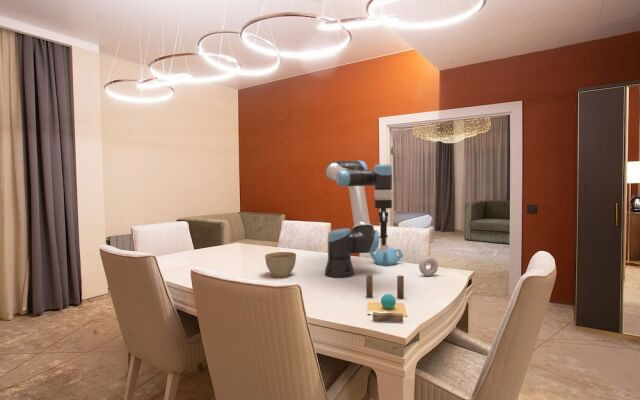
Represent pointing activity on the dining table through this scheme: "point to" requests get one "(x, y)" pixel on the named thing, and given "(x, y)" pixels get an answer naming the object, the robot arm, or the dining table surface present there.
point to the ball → (388, 301)
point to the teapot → (386, 256)
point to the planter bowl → (280, 263)
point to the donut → (424, 262)
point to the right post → (400, 287)
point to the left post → (369, 286)
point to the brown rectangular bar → (388, 317)
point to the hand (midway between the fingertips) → (383, 252)
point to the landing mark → (396, 309)
